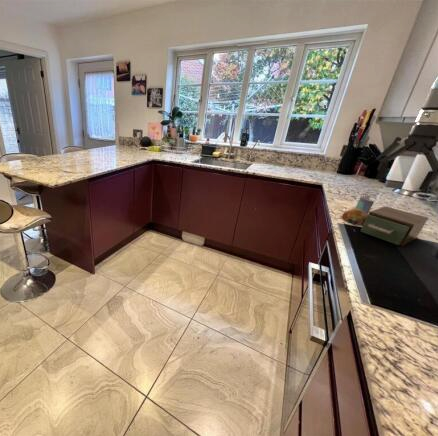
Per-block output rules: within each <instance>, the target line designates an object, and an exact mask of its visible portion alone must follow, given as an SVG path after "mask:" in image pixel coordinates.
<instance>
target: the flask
mask: <svg viewBox="0 0 438 436" xmlns="http://www.w3.org/2000/svg"><path fill="white" fill-rule="evenodd" d="M370 197H371V195H369V194H365V195H360V197H359V199H358V202H357V203H356V206H355V207H354V208H355V209H360V210H363V211H364V212H366V213H367V214H369V212H370V211H371V209H372V207H373V204H374V203H375V201H374V200H372V199H370Z"/></svg>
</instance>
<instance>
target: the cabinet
mask: <svg viewBox="0 0 438 436" xmlns="http://www.w3.org/2000/svg"><path fill="white" fill-rule="evenodd" d="M368 215H372V216H373V215H375V216H379V217H382V218H385V219H389V220H392V221H395V222H399V223H402V224H405V225H409V226H410V228H409V229H408V231H407V233H406V234H405V236H404V238H403V240H402V241H401V243H400V245H399V246H401V247H403V246H405V245H406V244H409V243H410V242H412V241H413V240H415V239H418V236H419V235H420V234H421V232H422V230H423V228H424V227H425V225H426V223H427V222H428V220H429V217H427V216H423V215H419V214H416V213H413V212H409V211H405V210H401V209H397V208H394V207H390V206H383V207H380V208H377V209H374V210H370V211H369V213H368ZM365 221H366V220H365Z"/></svg>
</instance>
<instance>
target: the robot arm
mask: <svg viewBox="0 0 438 436" xmlns="http://www.w3.org/2000/svg"><path fill="white" fill-rule="evenodd" d="M414 122H415V123H416V124H413V125H412V127H411V129H410V130H409V133H408V136H407V137H406V138H405V137H404V136H396V137H395V138H394V140H393V142H392V143H391V144H389V146H388V147H387V148H385V149H384V150H383V151H382V152H381V153H380V154H378V156H376V157H375V160H376V161H378V162H379V164H378V167H377V168H376V171H378V172H377V175H376V177H375V180H377V181H378V180H379V181H380V180H383V178H384V176H385V173H386V171H387V169H388V167H389V165H390V163H389V162H390V161H392V160H393V159H395V158H397V157H399V156H400V155H402V154H405V153H406V152H411V153H412V152H413V153H414V152H415V153H419V154H423V155H424V156H425V159H426V160H427V162H428V164H429V166H430V169H431V170H429V171H428V172H427V174H426V175H425V177H424V179H423V180H422V182H421V184H420V186H419V187H418V190H419V191H425V190H427V189H428V187H429V185H430V184H431V182H435V181H436V180H437V179H438V159H437V156H436V155H435V151H434V147H436V146H438V76H436V79H434V82H433V83H432V85H431V87H430V89H429V91H428V93H427V96H426V99H425V100H424V102H423V105H422V107H421V109H420V110H419V113H418V115H417V117H416V119H415V121H414ZM403 143H404V146H401V147H400V148H399V149H397V148H398V147H399V146H400V145H401V144H403ZM396 149H397V150H396ZM395 150H396V151H395ZM393 151H394V152H393Z"/></svg>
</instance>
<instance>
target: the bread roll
mask: <svg viewBox="0 0 438 436" xmlns="http://www.w3.org/2000/svg"><path fill="white" fill-rule="evenodd" d="M355 208H356V207H354V208H350V209H348V210H345V211H344V212H343V213H342V215H341V219H342V220H343V221H344V222H347V223H350V224H354V225H362V226H363V225H364V223H365V220H366V218H367V216H368V214H369V213H368V214H367V213H366V212H364V211H363V210H360V209H355Z"/></svg>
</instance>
